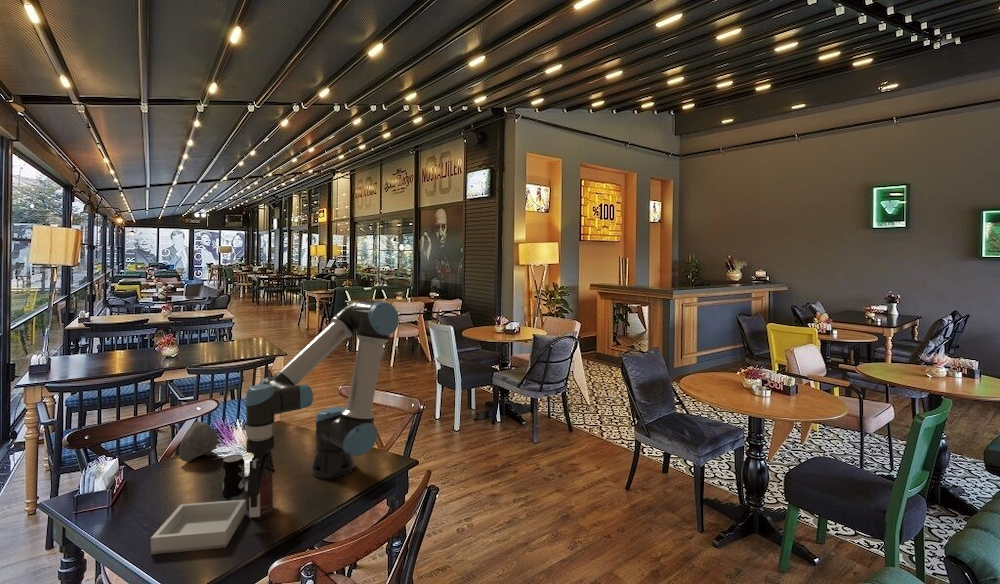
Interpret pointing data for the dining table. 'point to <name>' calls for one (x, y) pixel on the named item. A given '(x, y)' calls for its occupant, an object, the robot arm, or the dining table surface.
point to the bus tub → (199, 527)
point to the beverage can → (233, 475)
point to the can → (266, 495)
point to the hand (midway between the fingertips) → (261, 505)
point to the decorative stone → (197, 441)
